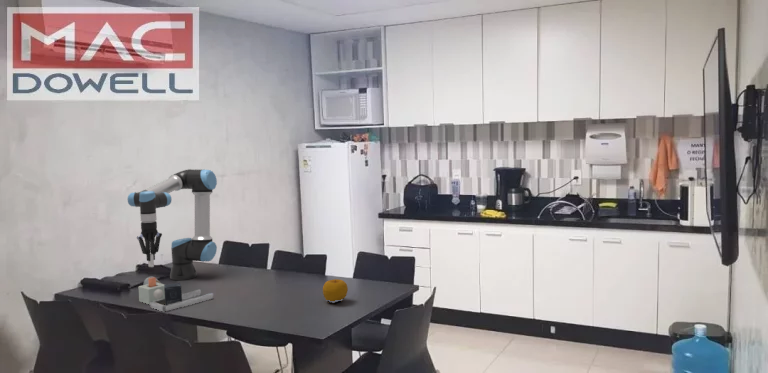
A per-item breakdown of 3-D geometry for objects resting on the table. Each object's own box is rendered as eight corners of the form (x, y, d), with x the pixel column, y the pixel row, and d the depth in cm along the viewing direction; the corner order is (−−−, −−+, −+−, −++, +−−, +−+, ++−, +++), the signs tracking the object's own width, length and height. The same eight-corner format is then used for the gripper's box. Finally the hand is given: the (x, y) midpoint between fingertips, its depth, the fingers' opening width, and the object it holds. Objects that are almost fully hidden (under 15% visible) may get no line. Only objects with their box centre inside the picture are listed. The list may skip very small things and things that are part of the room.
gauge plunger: (154, 290, 303) (153, 276, 302) (157, 291, 301) (157, 278, 300) (147, 291, 300) (146, 278, 299) (151, 292, 298) (150, 279, 297)
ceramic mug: (148, 294, 312) (147, 280, 312) (143, 291, 319) (142, 277, 318) (168, 291, 319) (167, 277, 318) (162, 287, 325) (162, 274, 325)
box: (181, 302, 297) (180, 282, 296) (182, 305, 292) (181, 285, 290) (165, 304, 293) (163, 284, 292) (165, 307, 288) (164, 287, 287)
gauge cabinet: (157, 296, 308) (156, 282, 307) (167, 300, 301) (166, 285, 300) (139, 301, 300) (138, 286, 299) (149, 305, 294) (148, 289, 293)
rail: (199, 294, 311) (199, 289, 311) (213, 298, 303) (212, 293, 303) (150, 307, 289) (150, 301, 289) (163, 312, 281) (163, 306, 281)
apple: (351, 299, 298) (351, 277, 297) (341, 307, 286) (341, 284, 285) (329, 297, 302) (328, 276, 301) (318, 304, 290) (317, 282, 289)
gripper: (156, 219, 304) (159, 263, 306) (132, 222, 294) (135, 268, 296) (164, 220, 299) (166, 265, 302) (140, 224, 289) (143, 270, 291)
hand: (151, 266), depth 299 cm, fingers closed
